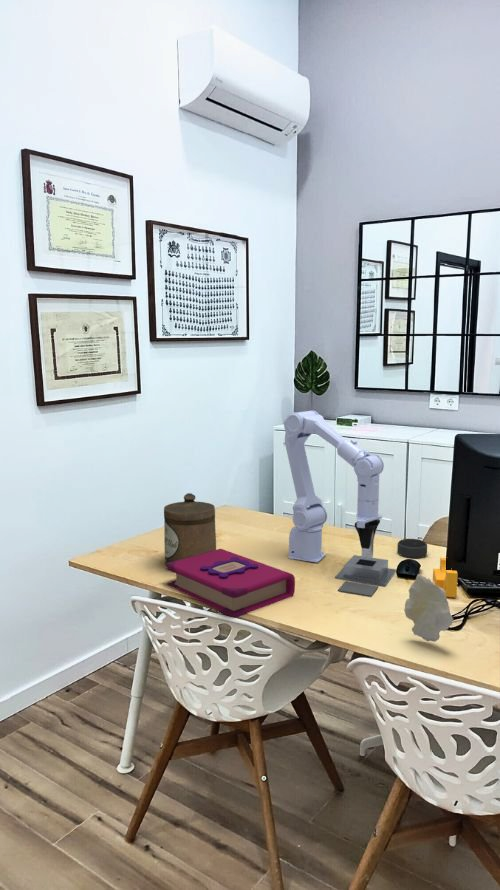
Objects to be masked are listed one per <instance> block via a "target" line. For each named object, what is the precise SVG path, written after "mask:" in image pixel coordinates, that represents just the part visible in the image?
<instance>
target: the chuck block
mask: <svg viewBox="0 0 500 890" xmlns="http://www.w3.org/2000/svg"><path fill="white" fill-rule="evenodd" d="M396 572H397V570H396V569H395V568H390V567H389V559H383V558H378V557H377V558H376V557H372V558H371V559H366V558H362V555H357V554H353V555H352V556H351V557H350V559H348V561H346V562H345V564H344V565H343V568H342V569H340V571H339V572H338V573H337V574H336V575H334V579H337V580H343V581H348V582H354V583H360V584H367V585H373V586H378V587H386V586H387V584H388V583H389V582H390V580H391V579H392V577H394V575H395V573H396Z"/></svg>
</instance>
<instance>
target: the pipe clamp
mask: <svg viewBox="0 0 500 890" xmlns="http://www.w3.org/2000/svg"><path fill="white" fill-rule="evenodd" d="M446 558H447V557H440V559H439V568H433V569H432V580H433V581H432V582H433V583H434V584H435V585H436V586H438V587H440V588H442V589H444V591H445V594H446V598H457V595H458V594H457V593H458V592H457V591H458V588H457V587H458V576H459V575H458V571H457V570H452V569H451V570H446Z"/></svg>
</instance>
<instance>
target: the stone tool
mask: <svg viewBox="0 0 500 890" xmlns="http://www.w3.org/2000/svg"><path fill="white" fill-rule="evenodd" d="M408 594H409V595H408V598H406V601H405V603H404V609H403V610H404V615H405V617H406V618H407V619H409V620H411V621H412V622H413V623H414V624H413V627H411V631H412V633H413V635H416V636H417V637H420V638H421V639H423V640H424V641H427V642H429V641H431V642H434V643H435V642H437V641H438V640H439V639H440V636H441V635H440V632H441V631H444V632H445V631H447V630H448V629H449V627H451V626H452V625H453V621H454V617H453V616H452V614H451V612H450V611H451V610H450V609H451V608H450V606H449V601H448V600H447V599H448V598H447V597H446V594H445V591H444V589H443V588H440V587H438V586H436V585H435V584H434V581H432V579H430V578H428V577H425V576H423V575H422V574H421V573H418V574H417V575H416V577H415V579H414V581H413V583H412V584H411V585H410V587H409V589H408Z"/></svg>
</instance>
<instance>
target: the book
mask: <svg viewBox="0 0 500 890" xmlns="http://www.w3.org/2000/svg"><path fill="white" fill-rule="evenodd" d="M166 570H167V571H169V572H171V573H174V574H176V575H175V578H176V579H175V580H172V581H168V582H167V583H166V585H167V586H168V587H171V588H173V589H176V590H178V591H179V592H181V593H183V594H186V595H188V596H189V597H191V598H193V599H196V600H197V601H200V602H202V603H204V604H206V605H208V606H209V607H212V608H214V609H216V610H217V611H220V612H221V613H223V614H225V615H227V616H229V617H231V618H239V617H241V616H245V615H247V614H249V613H252V612H254V611H256V610H259V609H262V608H265V607H267V606H270V605H273V604H276V603H278V602H280V601H284V600H286V599H289V598H292V597H293V596H294V594H295V590H296V589H295V588H296V581H295V580H296V579H295V575H294V574H293V573H290V572H287V571H285V570H282V569H279V568H277V567H274V566H271V565H267V564H265V563H263V562H260V561H257V560H254V559H251V558H249V557H246V556H242V555H239V554H238V553H234V552H231V551H228V550H225V549H224V548H218V549H217V548H216V550H214V551H210V552H206V553H203V554H199V555H196V556H192V557H188V558H185V559H181V560H178V561H172V562H168V563H167V567H166Z"/></svg>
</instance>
